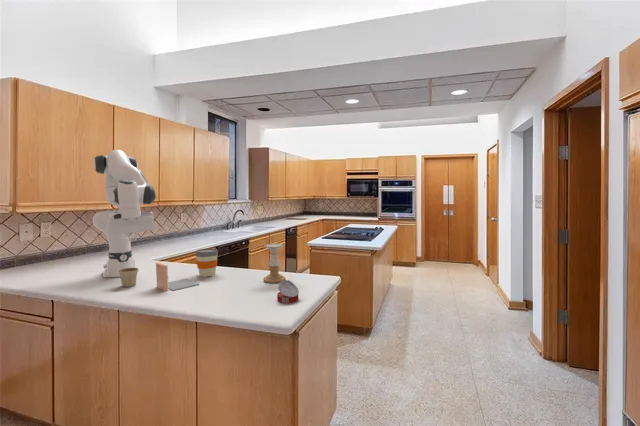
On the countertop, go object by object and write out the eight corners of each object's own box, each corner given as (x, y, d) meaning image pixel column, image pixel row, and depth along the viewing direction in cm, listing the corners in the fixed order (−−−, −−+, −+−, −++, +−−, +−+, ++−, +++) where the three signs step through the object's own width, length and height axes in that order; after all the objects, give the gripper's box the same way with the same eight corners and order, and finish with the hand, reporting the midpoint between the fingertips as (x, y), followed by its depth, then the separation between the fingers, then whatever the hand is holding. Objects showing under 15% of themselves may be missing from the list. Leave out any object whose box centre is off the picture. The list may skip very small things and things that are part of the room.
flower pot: (143, 284, 172) (142, 268, 172) (125, 289, 164) (124, 272, 164) (133, 282, 177) (132, 266, 176) (115, 286, 169) (114, 270, 168)
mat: (160, 284, 172) (160, 283, 172) (186, 279, 182) (186, 278, 182) (172, 290, 161) (172, 289, 161) (199, 284, 171) (199, 283, 171)
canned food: (294, 306, 152) (304, 287, 153) (293, 311, 142) (303, 291, 143) (273, 295, 152) (283, 276, 152) (270, 300, 142) (281, 280, 142)
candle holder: (261, 283, 173) (260, 246, 172) (265, 277, 186) (265, 243, 184) (283, 283, 173) (283, 246, 172) (286, 277, 185) (286, 243, 184)
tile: (156, 287, 168) (155, 262, 167) (160, 286, 169) (159, 262, 168) (164, 291, 161) (163, 265, 160) (168, 290, 162) (167, 265, 161)
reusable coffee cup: (214, 277, 185) (213, 252, 184) (192, 277, 185) (192, 252, 184) (221, 272, 198) (220, 248, 197) (201, 272, 198) (200, 248, 197)
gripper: (152, 210, 163) (154, 236, 165) (104, 214, 150) (107, 243, 152) (155, 211, 158) (157, 238, 160) (106, 216, 145) (109, 245, 147)
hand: (133, 241), depth 156 cm, fingers closed
